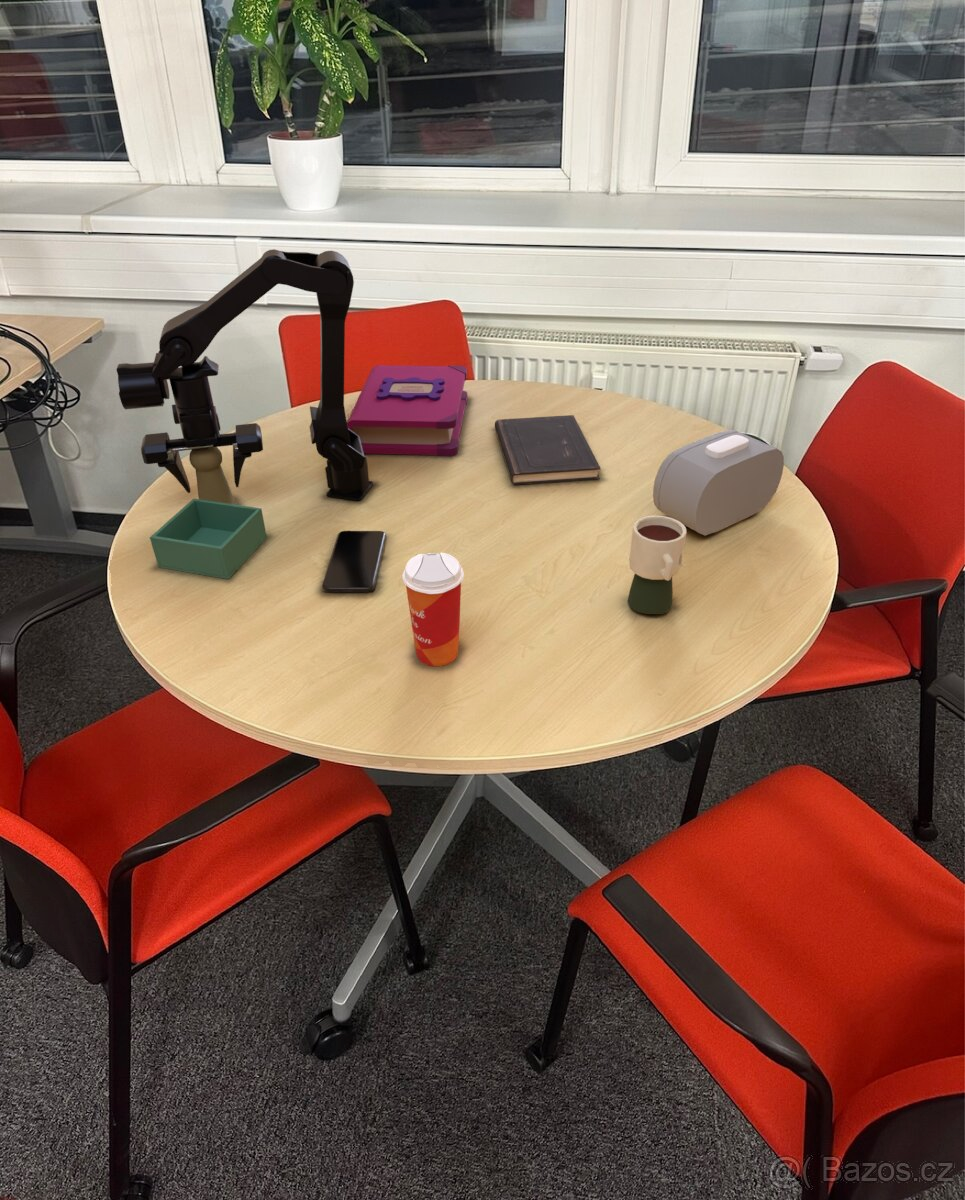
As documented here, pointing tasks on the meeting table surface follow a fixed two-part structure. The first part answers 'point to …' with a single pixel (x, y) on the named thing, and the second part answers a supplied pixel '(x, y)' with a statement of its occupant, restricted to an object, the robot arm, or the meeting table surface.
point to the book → (411, 410)
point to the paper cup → (434, 606)
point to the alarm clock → (717, 480)
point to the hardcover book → (546, 450)
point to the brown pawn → (210, 475)
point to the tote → (209, 538)
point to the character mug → (655, 562)
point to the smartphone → (354, 561)
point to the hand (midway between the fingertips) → (213, 489)
